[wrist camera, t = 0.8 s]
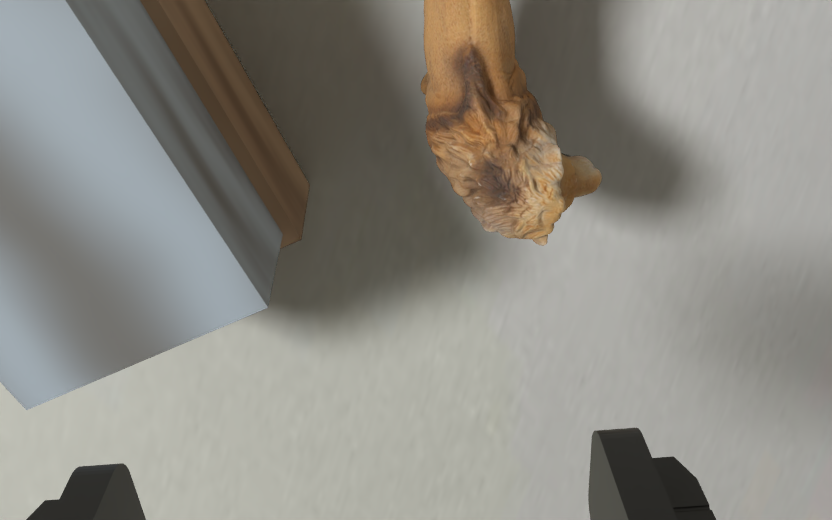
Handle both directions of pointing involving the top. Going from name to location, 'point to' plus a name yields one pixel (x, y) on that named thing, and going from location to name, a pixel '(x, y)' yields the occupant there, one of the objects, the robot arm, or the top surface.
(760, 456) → the top surface
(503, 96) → the lion figurine
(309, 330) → the top surface
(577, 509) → the top surface
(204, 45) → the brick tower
